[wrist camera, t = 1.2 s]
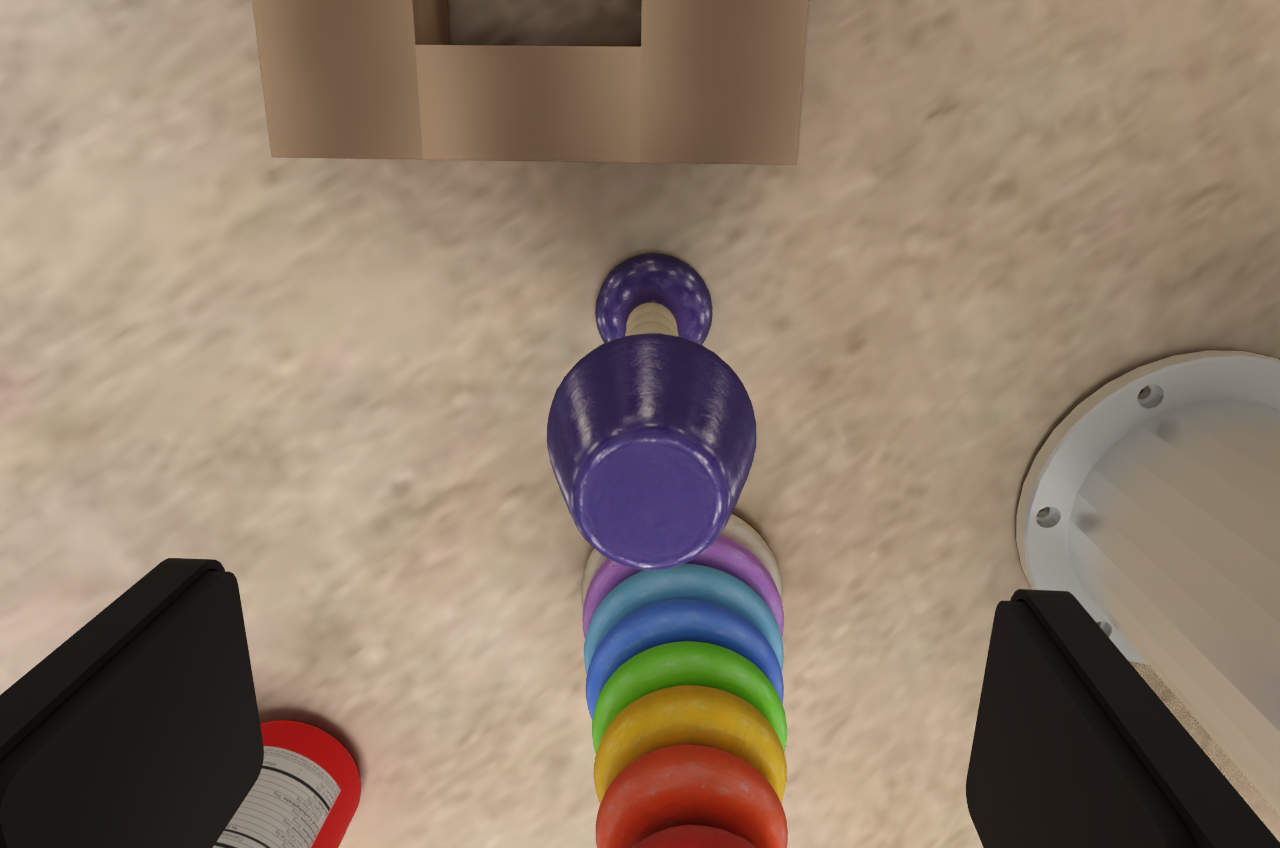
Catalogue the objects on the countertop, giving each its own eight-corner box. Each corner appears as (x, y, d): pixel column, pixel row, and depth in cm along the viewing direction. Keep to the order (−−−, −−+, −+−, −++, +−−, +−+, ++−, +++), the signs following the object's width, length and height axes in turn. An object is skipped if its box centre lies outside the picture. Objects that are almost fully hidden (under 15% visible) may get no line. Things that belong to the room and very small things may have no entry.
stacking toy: (594, 670, 36) (508, 1180, 19) (575, 498, 34) (454, 901, 16) (782, 663, 36) (875, 1184, 18) (776, 487, 33) (880, 894, 16)
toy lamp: (715, 238, 30) (746, 356, 15) (739, 363, 32) (791, 594, 16) (584, 267, 31) (477, 410, 15) (613, 388, 32) (544, 635, 17)
